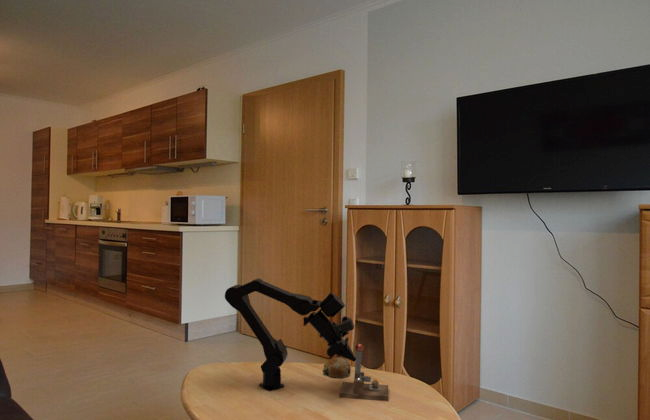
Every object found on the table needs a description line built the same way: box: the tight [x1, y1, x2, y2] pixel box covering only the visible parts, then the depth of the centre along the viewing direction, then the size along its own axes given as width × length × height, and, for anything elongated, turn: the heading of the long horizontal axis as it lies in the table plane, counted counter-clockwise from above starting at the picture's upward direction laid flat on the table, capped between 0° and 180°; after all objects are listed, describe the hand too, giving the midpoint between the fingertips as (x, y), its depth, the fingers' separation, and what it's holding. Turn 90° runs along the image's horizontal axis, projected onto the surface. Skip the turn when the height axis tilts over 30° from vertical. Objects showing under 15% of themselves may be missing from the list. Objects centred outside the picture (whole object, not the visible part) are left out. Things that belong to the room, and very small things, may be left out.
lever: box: [353, 343, 372, 383], centre depth 155 cm, size 6×6×13 cm
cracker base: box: [339, 371, 389, 402], centre depth 155 cm, size 16×10×6 cm, turn 82°
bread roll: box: [322, 356, 352, 379], centre depth 173 cm, size 10×10×8 cm
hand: (355, 360), depth 156 cm, fingers closed, pressing on lever
